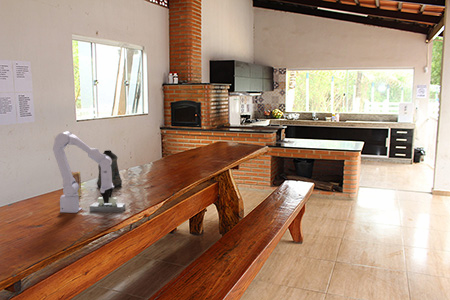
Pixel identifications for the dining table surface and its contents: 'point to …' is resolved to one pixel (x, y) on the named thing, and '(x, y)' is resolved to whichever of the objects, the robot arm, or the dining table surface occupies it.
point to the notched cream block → (111, 200)
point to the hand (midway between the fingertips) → (107, 202)
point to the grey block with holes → (107, 207)
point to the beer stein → (115, 172)
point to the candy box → (77, 180)
